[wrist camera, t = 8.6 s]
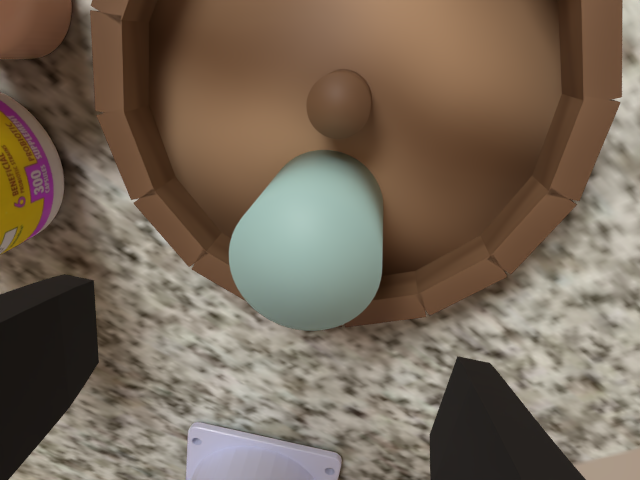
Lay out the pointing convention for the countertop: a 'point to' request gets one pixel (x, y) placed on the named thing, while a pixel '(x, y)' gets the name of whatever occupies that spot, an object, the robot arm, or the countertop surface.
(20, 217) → the supplement bottle
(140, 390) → the countertop surface
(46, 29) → the smooth rounded cylinder peach
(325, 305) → the pale teal rounded piece
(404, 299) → the tray
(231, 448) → the robot arm
